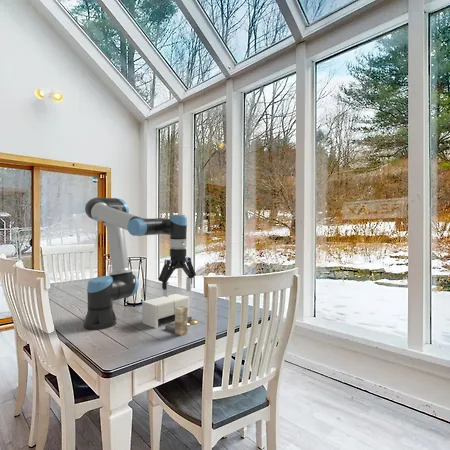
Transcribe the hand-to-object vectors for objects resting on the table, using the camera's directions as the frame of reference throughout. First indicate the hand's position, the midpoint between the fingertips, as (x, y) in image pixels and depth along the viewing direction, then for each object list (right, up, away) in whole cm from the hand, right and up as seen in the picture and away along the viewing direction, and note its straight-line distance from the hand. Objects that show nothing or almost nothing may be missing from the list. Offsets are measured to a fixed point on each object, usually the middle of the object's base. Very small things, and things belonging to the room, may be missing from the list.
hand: (177, 293), depth 148 cm
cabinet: (-8, -18, +18) cm, 26 cm away
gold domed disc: (+6, -18, +14) cm, 23 cm away
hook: (+3, -18, +6) cm, 19 cm away
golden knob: (+3, -18, +10) cm, 21 cm away
